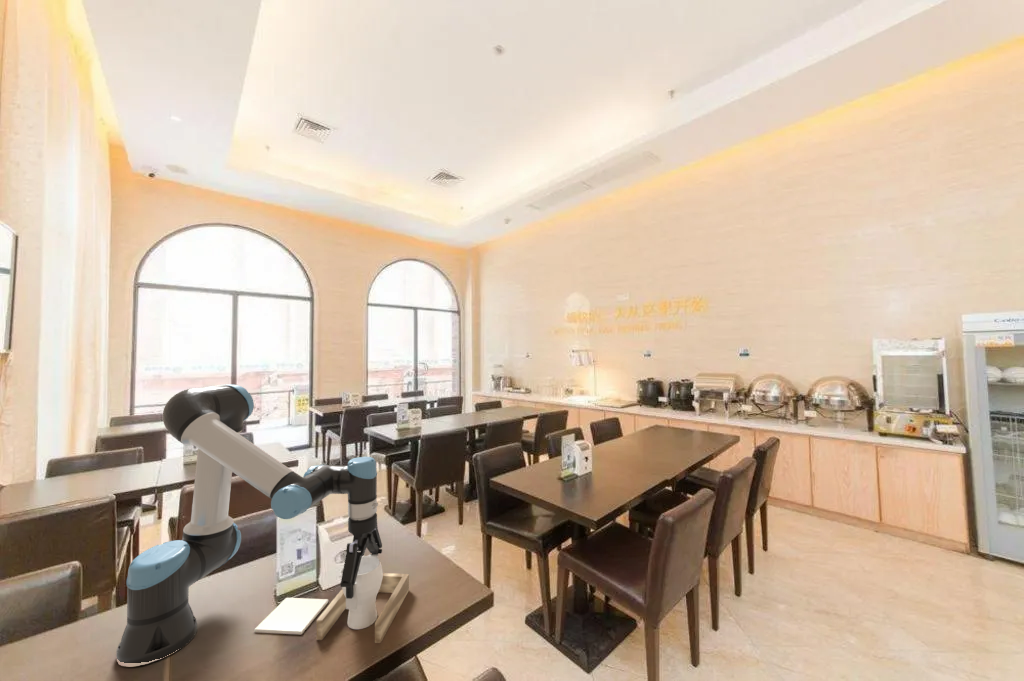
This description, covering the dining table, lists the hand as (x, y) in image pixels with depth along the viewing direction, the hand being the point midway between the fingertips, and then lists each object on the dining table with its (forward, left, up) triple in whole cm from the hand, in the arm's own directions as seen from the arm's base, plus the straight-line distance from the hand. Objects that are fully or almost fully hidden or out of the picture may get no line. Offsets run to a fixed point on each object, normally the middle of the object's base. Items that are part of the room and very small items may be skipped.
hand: (363, 592), depth 108 cm
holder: (0, +3, -8) cm, 8 cm away
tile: (-20, 0, -8) cm, 22 cm away
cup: (0, 0, -8) cm, 8 cm away
